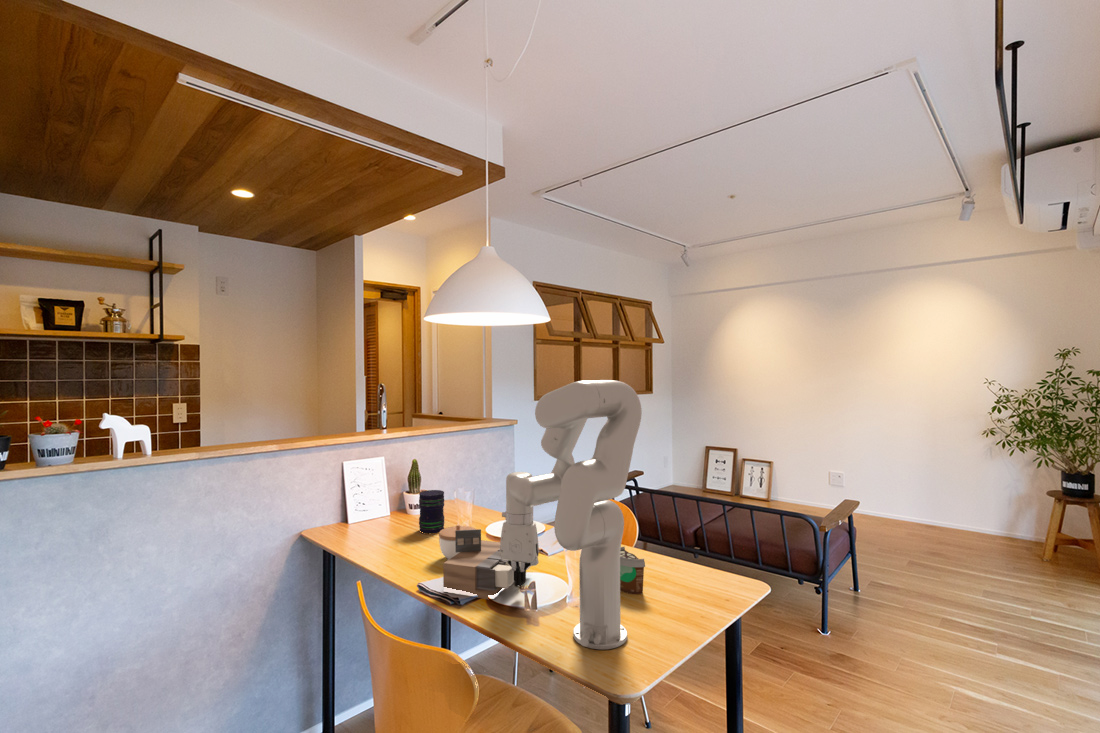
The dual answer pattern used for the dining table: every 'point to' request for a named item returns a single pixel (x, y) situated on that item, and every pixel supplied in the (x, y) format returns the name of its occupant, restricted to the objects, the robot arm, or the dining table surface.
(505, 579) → the button
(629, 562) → the food container
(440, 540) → the lidded bowl
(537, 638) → the dining table surface
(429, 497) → the storage jar
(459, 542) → the console
